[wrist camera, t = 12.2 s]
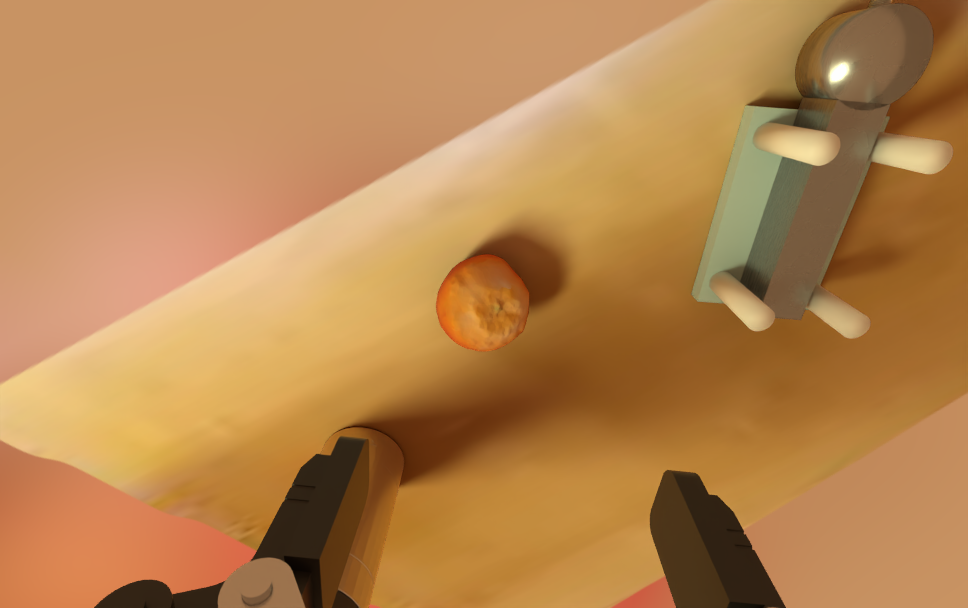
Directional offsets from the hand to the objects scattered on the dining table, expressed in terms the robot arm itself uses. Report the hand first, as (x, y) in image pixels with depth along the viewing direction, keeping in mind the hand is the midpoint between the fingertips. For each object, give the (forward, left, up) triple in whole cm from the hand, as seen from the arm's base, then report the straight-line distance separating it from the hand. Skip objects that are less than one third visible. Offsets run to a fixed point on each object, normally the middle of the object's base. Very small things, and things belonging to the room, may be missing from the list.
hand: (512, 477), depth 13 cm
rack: (+1, -23, -30) cm, 38 cm away
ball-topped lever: (+6, -23, -29) cm, 37 cm away
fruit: (-8, +1, -31) cm, 32 cm away
